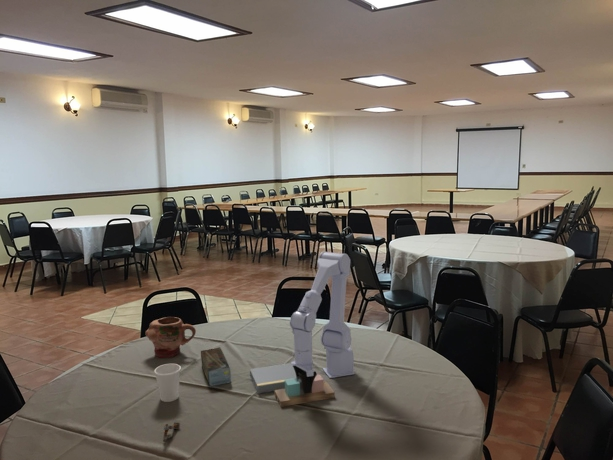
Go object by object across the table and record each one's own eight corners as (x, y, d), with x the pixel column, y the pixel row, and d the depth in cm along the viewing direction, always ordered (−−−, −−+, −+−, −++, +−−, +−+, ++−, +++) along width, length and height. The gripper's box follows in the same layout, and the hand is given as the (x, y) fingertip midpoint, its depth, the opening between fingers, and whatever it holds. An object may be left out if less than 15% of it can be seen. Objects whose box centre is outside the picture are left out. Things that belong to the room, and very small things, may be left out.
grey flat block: (303, 367, 181) (303, 360, 180) (315, 383, 168) (315, 376, 167) (250, 375, 175) (249, 368, 175) (257, 393, 162) (257, 386, 161)
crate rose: (319, 385, 163) (319, 374, 162) (323, 391, 159) (323, 379, 158) (308, 387, 161) (308, 376, 161) (312, 393, 158) (311, 381, 157)
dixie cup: (187, 393, 163) (185, 365, 161) (173, 405, 155) (171, 375, 154) (166, 390, 166) (164, 362, 164) (151, 401, 158) (148, 372, 156)
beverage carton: (208, 387, 167) (207, 369, 166) (200, 365, 185) (199, 349, 184) (231, 383, 170) (230, 365, 169) (221, 362, 188) (220, 345, 187)
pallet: (326, 387, 166) (326, 369, 165) (334, 398, 158) (334, 379, 157) (274, 395, 160) (274, 377, 160) (280, 407, 153) (280, 388, 152)
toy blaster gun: (159, 442, 134) (161, 424, 135) (172, 437, 142) (174, 421, 143) (165, 442, 134) (167, 424, 135) (178, 438, 141) (180, 421, 142)
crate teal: (296, 389, 160) (296, 378, 160) (300, 395, 157) (299, 383, 156) (284, 391, 159) (284, 379, 159) (288, 397, 155) (287, 385, 155)
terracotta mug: (199, 346, 204) (197, 313, 202) (195, 357, 192) (193, 323, 190) (150, 348, 202) (147, 316, 200) (143, 360, 190) (140, 326, 188)
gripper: (285, 341, 162) (286, 380, 165) (297, 358, 149) (298, 400, 151) (305, 339, 165) (306, 377, 167) (319, 355, 151) (320, 396, 153)
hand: (304, 388), depth 159 cm, fingers open, 6 cm apart
